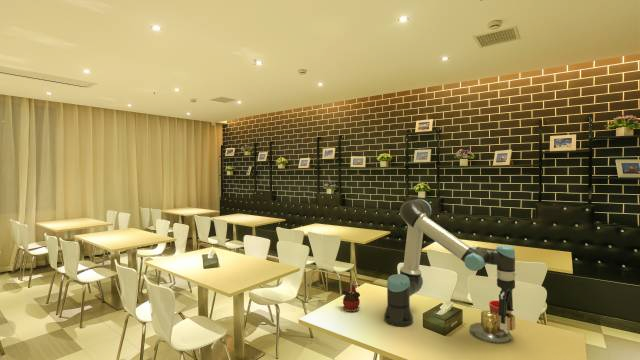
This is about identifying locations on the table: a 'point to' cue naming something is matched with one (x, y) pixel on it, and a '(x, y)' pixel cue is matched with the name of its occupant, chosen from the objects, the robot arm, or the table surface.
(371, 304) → the table surface
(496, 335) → the carrier
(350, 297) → the red vase
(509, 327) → the gear
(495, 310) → the flower pot
